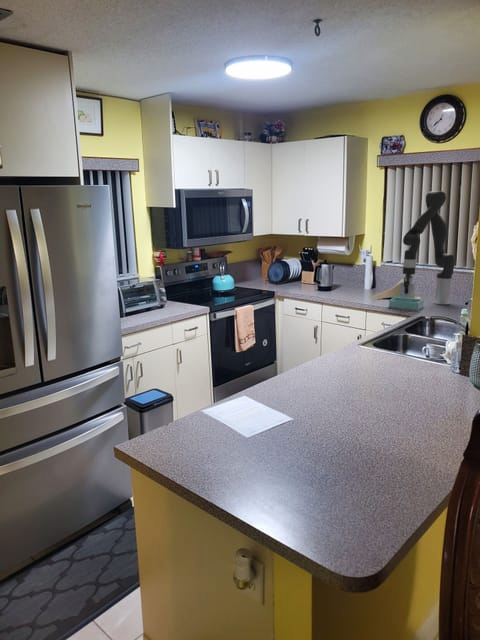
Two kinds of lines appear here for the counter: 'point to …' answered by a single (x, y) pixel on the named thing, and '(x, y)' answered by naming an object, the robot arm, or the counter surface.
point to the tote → (406, 303)
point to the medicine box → (410, 289)
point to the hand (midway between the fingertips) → (407, 292)
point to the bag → (393, 293)
